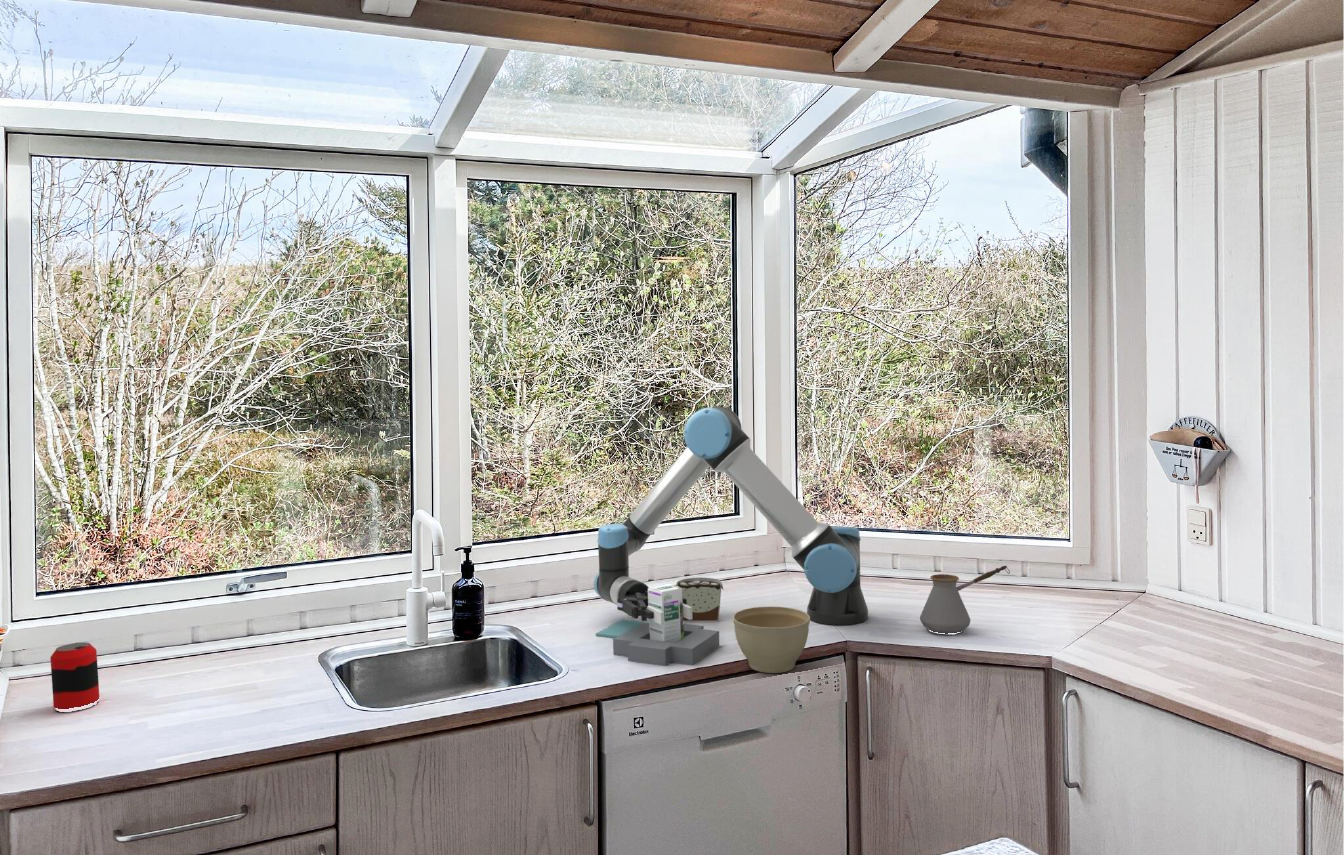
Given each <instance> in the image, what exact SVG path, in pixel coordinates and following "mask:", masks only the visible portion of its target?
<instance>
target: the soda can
mask: <svg viewBox="0 0 1344 855" xmlns="http://www.w3.org/2000/svg"><path fill="white" fill-rule="evenodd" d="M97 651H98V650H97V649H96V648H95V647H94V646H93V645H92V644H91V643H90V642H87V641H86V642H83V641H82V642H74V643H68V644H64V645H63V644H62V645H61V646H58V647H56V648H55V650H54V651H53V653H52V654H51V656H50V657H49V658H50V671H51V673H50V674H51V684H52V686H51V687H52V701H53V702H52V704H53V708H54V707H55V708H58V709H69V708H74V707H81V706H84V705H88V704H90V703H94V702H95V701H97V700H98V699H99V697H100V685H99V684H100V683H99V669H98V668H99V667H98V666H99V665H98V654H97V653H98V652H97Z"/></svg>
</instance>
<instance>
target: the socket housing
mask: <svg viewBox="0 0 1344 855" xmlns="http://www.w3.org/2000/svg"><path fill="white" fill-rule="evenodd" d="M683 627H684V638H683V639H681V640H680V641H678V642H676V643H673V642H664V641H656V640H650V629H649V622H648V623H642V624H640V625H638V626H636V627H634V628H633V629H631V630H629V631H627V632H625V633H623V634H622V635H620V636H618V637H616V638H612V645H613V647H612V648H613V655H614V656H621V655H623V656H622V657H627V661H628V662H634V661H635V663H643V664H649V665H656V664H657V666H664V665H666V666H667V665H669V664H670V663H676V664H683V665H689V666H693V665H695V664H696V663H698V662H699V661H700V660H702V659H703V658H704V657H706V656H708V655H709V654H710V653H712V652H713V651H714V650H716V649H718V648H719V647H720V630H715V629H714V630H713V629H705V628H704V625H700V624H693V623H692V624H690V623H683ZM651 663H652V664H651ZM668 663H669V664H668Z"/></svg>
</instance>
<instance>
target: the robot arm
mask: <svg viewBox="0 0 1344 855" xmlns="http://www.w3.org/2000/svg"><path fill="white" fill-rule="evenodd" d="M683 436H684V437H683V438H684V443H685V445H686V446H687V447H686V448H685V450H684V451H682V453H681V454H680V455H679V456H678V458H677V459H676V460H675V461H674V463H673V464H672V465H671V466H670V467H669V469H667V471H666V472H665V473H664V474H663V476H662V477H661V478H660V479H659V480H658V482H657V483H656V484H655V485H654V486H653V488H651V490H650V491H649V492H648V493H647V495H646V496H645V497H644V498H643V499H642V500H641V502H640V503H639V504H638V505H637V507H636V508H634V510H633V511H632V512H631V513H630V515H629V516H628V517H627V519H625V520H624V522H623V523H621V524H619V523H612V524H611V523H610V524H609V523H608V524H605V525H602V526H600V527H599V528H598V532H597V533H598V536H597V544H598V545H597V546H598V549H597V551H598V573H596V576H595V578H594V581H593V589H594V591H595V593H596V594H597V595H598V596H599V597H600V598H602V600H604V601H606V602H610V603H612V604H614V605H616V608H617V611H620V612H623V613H624V614H627V615H628V617H631V618H633V619H634V620H635V619H636V620H637V619H638V618H639V617H640V618H641V622H648V620H649V619H650V620H652V621H654V622H656V623H658V624H660V625H663V624H664V612H662V611H660V610H658V609H656V608H654V607H652V606H648V588H650V587H649V586H648V585H647V584H645V582H644V583H643V581H642V582H641V581H639V580H638V579H635V578H632V577H630V570H629V568H630V566H629V564H630V563H629V562H630V561H629V559H630V558H629V556H631V555H632V554H634V553H636V552H638V551H639V550H641V549H642V548H643V547H644V546H645V544H646V542H647V540H648V539H649V538H650V536H651V535H652V534H653V532H654V531H655V530H656V529H657V528H658V526H659V525H660V524H662V522H663V521H664V520H665V519H666V517H668V515H669V514H670V513H671V511H672V510H673V509H674V508H675V507H676V506H677V505H678V504H679V503H680V501H681V500H682V498H683V497H685V495H686V494H687V493H688V491H690V489H691V488H692V487H693V485H695V484H696V482H697V481H698V480H699V479H700V477H702V475H703V474H704V473H705V472H706V471H707V469H709V467H711V469H712V470H713V471H714V472H717V473H724V474H725V475H726V476H727V477H728V478H729V479H730V481H731V482H733V484H734V485H735V486H736V487H737V489H739V490H740V491H741V492H742V493H743V495H744V496H745V497H746V498H747V499H748V501H750V503H751V504H752V505H753V506H754V507H755V508H756V509H757V510H758V511H759V512H760V514H761V515H762V516H763V517H764V518H765V519H766V520H767V522H769V523H770V525H771V526H772V527H773V528H774V530H776V531H777V532H778V534H780V535H781V537H782V538H783V539H784V540H785V541H786V542H787V544H789V546H790V547H791V557H792V559H794V561H795V562H796V563H797V564H798V565H799V566H800V567H801V569H802V570H803V573H804V575H805V579H807V581H808V583H809V584H810V585H811V586H812V587H813V588H812V591H811V594H810V597H809V600H808V604H807V608H806V613H807V614H808V615H809V616H810V621H813V622H815V623H819V624H825V625H832V626H833V625H835V626H844V625H845V626H847V625H854V624H855V625H856V624H860V623H863V622H865V621H867V620H868V619H869V609H868V605H867V602H866V599H865V597H864V593H863V590H862V586H861V547H860V546H861V545H860V544H861V542H860V541H861V539H862V538H861V537H860V530H859V529H858V528H857V527H854V526H853V527H852V526H831V525H830V524H829V523H825V522H819V521H817V520H816V518H814V516H813V515H812V514H811V513H810V512H809V511H808V510H807V509H806V508H805V506H804V505H803V504H802V503H801V502H800V501H799V500H798V499H797V498H796V497H795V496H794V495H793V493H791V491H790V490H789V489H788V488H787V487H786V485H784V484H783V482H782V481H781V480H780V479H779V478H778V477H777V476H776V474H774V472H772V469H770V468H769V467H768V466H767V465H766V464H765V463H764V461H763V460H762V459H760V457H759V456H758V455H757V454H756V453H755V452H754V451H753V450H752V449H751V448H752V447H751V438H750V437H749V436H748V435H747V434H746V433H745V431H744V430H743V429H742V423H741V419H740V418H739V417H738V415H737V414H736V413H735V412H734V411H733V410H731V409H730V408H728V407H725V406H711V407H704V408H701V409H699V410H697V411H696V412H695V413H693V414H691V416H690V417H689V418H688V420H687V421H686V423H685V425H684V432H683ZM682 600H683V617H684V618H687V619H689V620H691V619H692V607H690V606H688V605H687V599H685V598H682ZM647 619H648V620H647Z"/></svg>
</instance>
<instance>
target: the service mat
mask: <svg viewBox="0 0 1344 855" xmlns="http://www.w3.org/2000/svg"><path fill="white" fill-rule="evenodd" d="M642 623H649V621H639V620H638V621H637V620H631V619H630V620H628V619H621V620H619V621H617V622H615V623H614V624H611V625H609V626H607V627H605V628H604V629H602V630H600V631H597V632H596V633H595V637H600V638H601V637H602V638H611V639H614V638H616V637H618V636H620V635H622V634H623V633H625V632H627V631H629V630H631V629H633V628H634V627H636V626H638V625H640V624H642Z"/></svg>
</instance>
